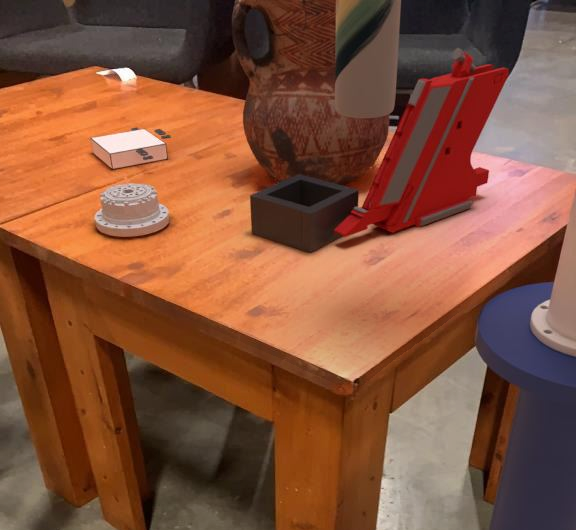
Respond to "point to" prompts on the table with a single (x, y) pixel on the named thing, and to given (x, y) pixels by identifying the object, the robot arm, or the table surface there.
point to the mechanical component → (130, 211)
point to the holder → (301, 211)
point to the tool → (432, 151)
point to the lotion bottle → (366, 57)
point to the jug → (301, 96)
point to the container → (130, 148)
